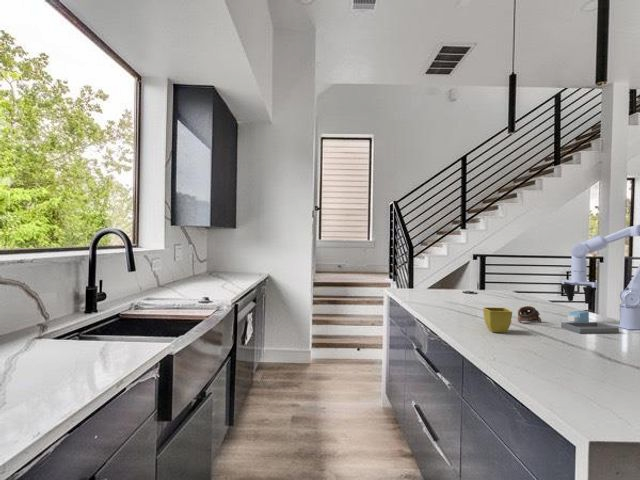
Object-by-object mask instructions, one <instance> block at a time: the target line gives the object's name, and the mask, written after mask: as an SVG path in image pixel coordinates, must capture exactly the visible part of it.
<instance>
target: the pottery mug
mask: <svg viewBox="0 0 640 480" xmlns="http://www.w3.org/2000/svg"><path fill="white" fill-rule="evenodd" d="M540 314H541V313H540V312H539V311H538V310H537V309H536V307H534V306H531V305H526V306H522V307H520V308H519V309H518V311H517V322H520V323H519V324H521V323H522V322H528V321H529V322H532V321H534V322H535V321H537V322H539V323H540V324H541V323H542V318H541V317H540Z"/></svg>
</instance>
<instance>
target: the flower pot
mask: <svg viewBox="0 0 640 480" xmlns="http://www.w3.org/2000/svg"><path fill="white" fill-rule="evenodd" d="M512 317H513V311H512V310H510V309H508V308H506V307H494V306H493V307H488V306H487V307H486V306H485V307H483V318H484V321H485V322H484V324H485V325H486V327H487V329H488V330H489V331H490V332H492V333H502V334H503V333H504V334H505V333H507V331H508V330H509V329H510V326H511V323H512Z"/></svg>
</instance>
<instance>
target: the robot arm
mask: <svg viewBox="0 0 640 480" xmlns="http://www.w3.org/2000/svg"><path fill="white" fill-rule="evenodd" d="M628 237H640V224H636V225H633V226H628V227H625V228H623V229H621V230H618V231H615V232H613V233H611V234H608V235H606V236H602V235H593V236H592V238H589V239H586V240H585V241H584V240H581V241H580V243H576V244H573V246H572V247H571V249H570V254H571V260H570V262H571V263H570V266H571V267H570V269H571V270H570V273H571V274H570V277H571V278H570V279H562V280H561V285H562V288H563V290H564V292H565V294H566V298H567V300H568V302H572V301H574V292H575V287H576V286H581V287H582V290H583V293H584V304H585V305H586V304H587V305H589V304H591V300H592V297H593V294H594V293H595V292H596V291H597V288H598V282H594V281H587V280H588V277H587V275H588V274H587V269H588V267H587V265H588V263H587V254H592V253H594V252H598V251H601V250H603V249H606V248H607V245H608V244H610V243H614V242H615V241H618V240H621V239H624V238H628ZM619 298H620V300H621V303H619V323H618V324H616V323H615V324H614V327H617V328H621V329H626V330H630V331H632V330H640V264H639V265H638V266H637V269H636V271H635V273H634V275H633V276H632V278H631V280H630V281H629V283H628V284H627V285H626V287H625V289H623V290H622V291H620V293H619Z"/></svg>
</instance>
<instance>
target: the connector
mask: <svg viewBox="0 0 640 480" xmlns="http://www.w3.org/2000/svg"><path fill="white" fill-rule="evenodd" d="M589 313H590V311H587V310H573V311H572V310H571V311H569V314H570V315H567V321H570V322H590V314H589Z"/></svg>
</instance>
